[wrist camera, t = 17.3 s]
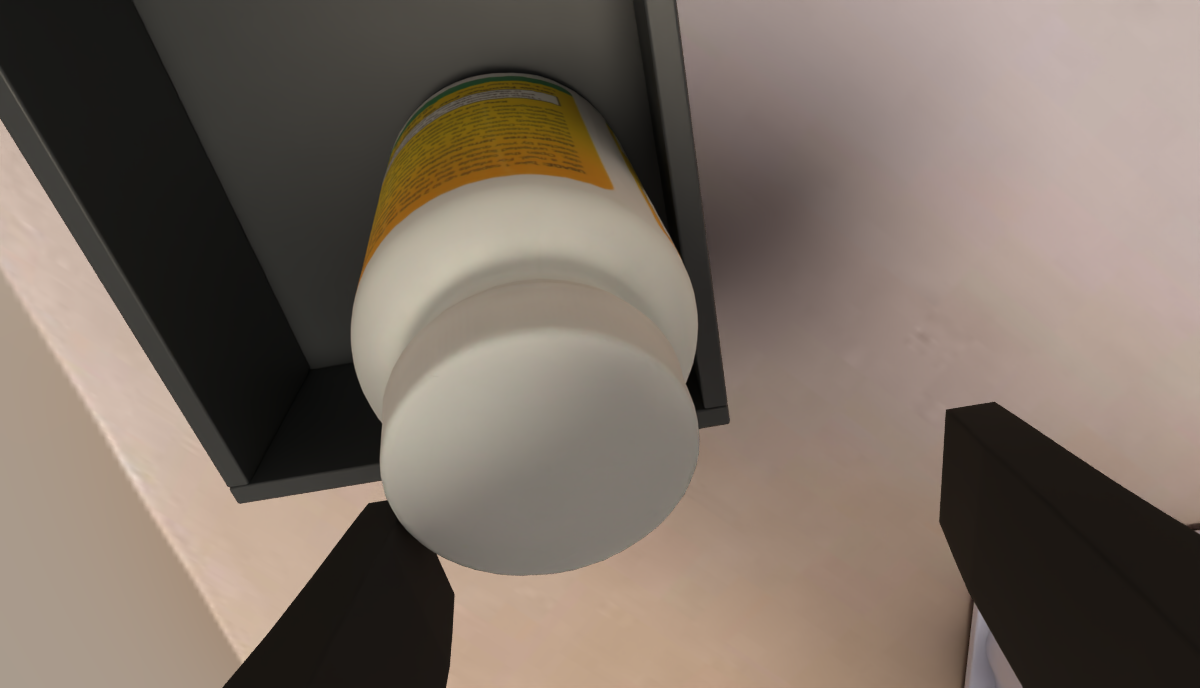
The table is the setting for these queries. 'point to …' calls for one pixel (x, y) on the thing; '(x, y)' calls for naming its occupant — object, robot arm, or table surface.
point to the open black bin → (303, 183)
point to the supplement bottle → (524, 333)
